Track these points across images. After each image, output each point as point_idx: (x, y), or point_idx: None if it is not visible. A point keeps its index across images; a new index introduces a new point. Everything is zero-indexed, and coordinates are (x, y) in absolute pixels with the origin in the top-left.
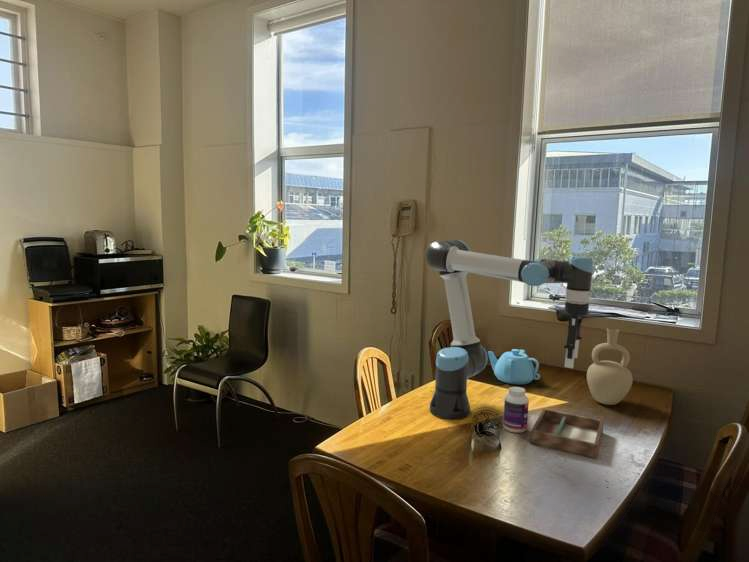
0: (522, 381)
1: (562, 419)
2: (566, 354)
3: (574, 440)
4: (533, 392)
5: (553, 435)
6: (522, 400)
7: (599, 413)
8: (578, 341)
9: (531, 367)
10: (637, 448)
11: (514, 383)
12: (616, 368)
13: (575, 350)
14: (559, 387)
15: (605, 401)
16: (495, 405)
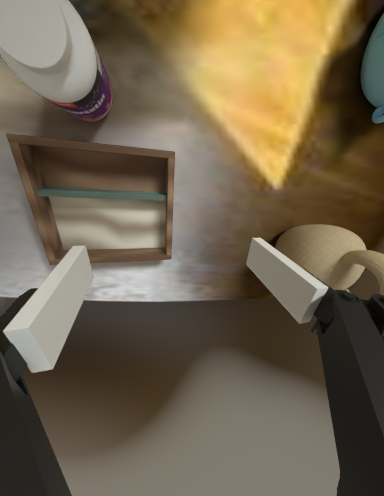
0: (364, 79)
1: (147, 195)
2: (40, 293)
3: (39, 230)
4: (315, 116)
5: (25, 190)
6: (16, 72)
7: (242, 238)
8: (296, 317)
9: None
10: (141, 288)
11: (364, 57)
12: None
13: (266, 275)
14: (343, 168)
15: (276, 245)
16: (212, 5)
